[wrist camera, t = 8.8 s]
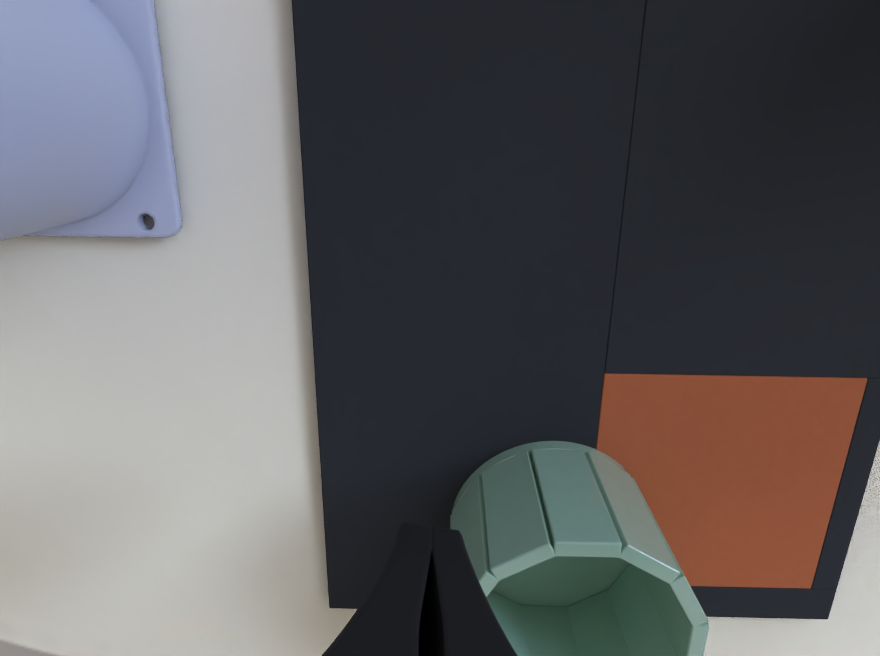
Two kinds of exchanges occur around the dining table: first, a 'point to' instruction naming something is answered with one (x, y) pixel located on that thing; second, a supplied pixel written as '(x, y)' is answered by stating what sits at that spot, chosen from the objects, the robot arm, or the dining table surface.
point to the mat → (599, 268)
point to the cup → (575, 556)
